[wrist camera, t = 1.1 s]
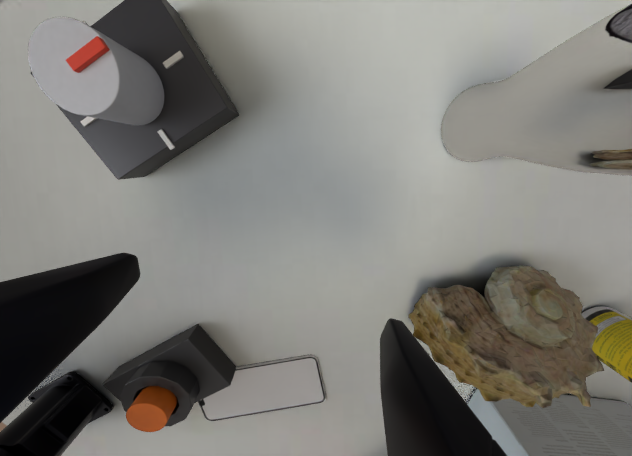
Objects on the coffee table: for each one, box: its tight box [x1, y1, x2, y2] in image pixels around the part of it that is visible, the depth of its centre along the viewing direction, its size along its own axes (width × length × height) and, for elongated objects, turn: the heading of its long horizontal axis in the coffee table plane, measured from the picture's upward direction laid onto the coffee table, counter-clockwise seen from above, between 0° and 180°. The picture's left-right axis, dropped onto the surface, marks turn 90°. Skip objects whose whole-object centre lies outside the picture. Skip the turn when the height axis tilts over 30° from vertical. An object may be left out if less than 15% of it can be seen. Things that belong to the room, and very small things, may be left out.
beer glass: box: [441, 4, 632, 176], centre depth 13 cm, size 7×7×15 cm
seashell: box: [409, 265, 604, 408], centre depth 21 cm, size 11×14×10 cm
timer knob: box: [28, 17, 164, 125], centre depth 14 cm, size 4×4×4 cm
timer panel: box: [31, 0, 239, 179], centre depth 17 cm, size 10×9×3 cm
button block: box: [103, 324, 236, 426], centre depth 24 cm, size 11×7×4 cm, turn 120°
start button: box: [126, 386, 177, 432], centre depth 22 cm, size 4×4×2 cm
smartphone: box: [198, 355, 326, 421], centre depth 28 cm, size 7×1×15 cm
